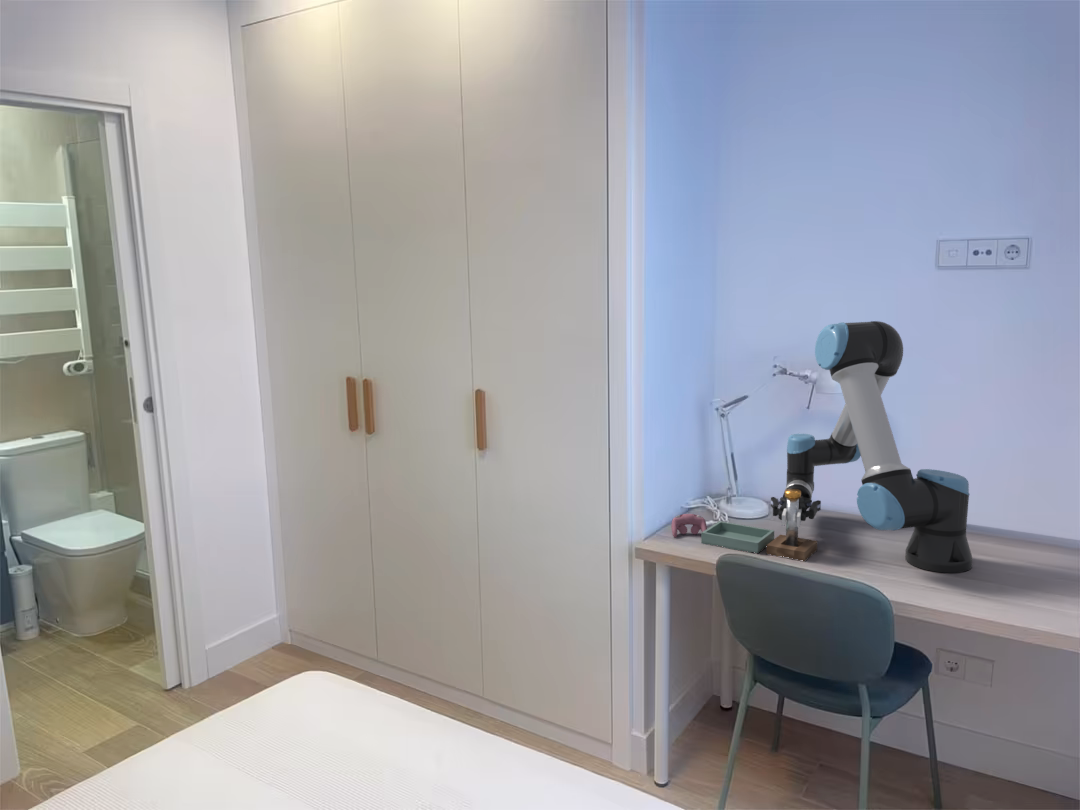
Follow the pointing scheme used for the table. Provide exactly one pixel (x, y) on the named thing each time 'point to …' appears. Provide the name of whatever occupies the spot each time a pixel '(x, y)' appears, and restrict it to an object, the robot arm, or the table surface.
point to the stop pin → (792, 516)
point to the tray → (737, 536)
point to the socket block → (792, 548)
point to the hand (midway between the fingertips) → (790, 521)
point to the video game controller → (685, 519)
